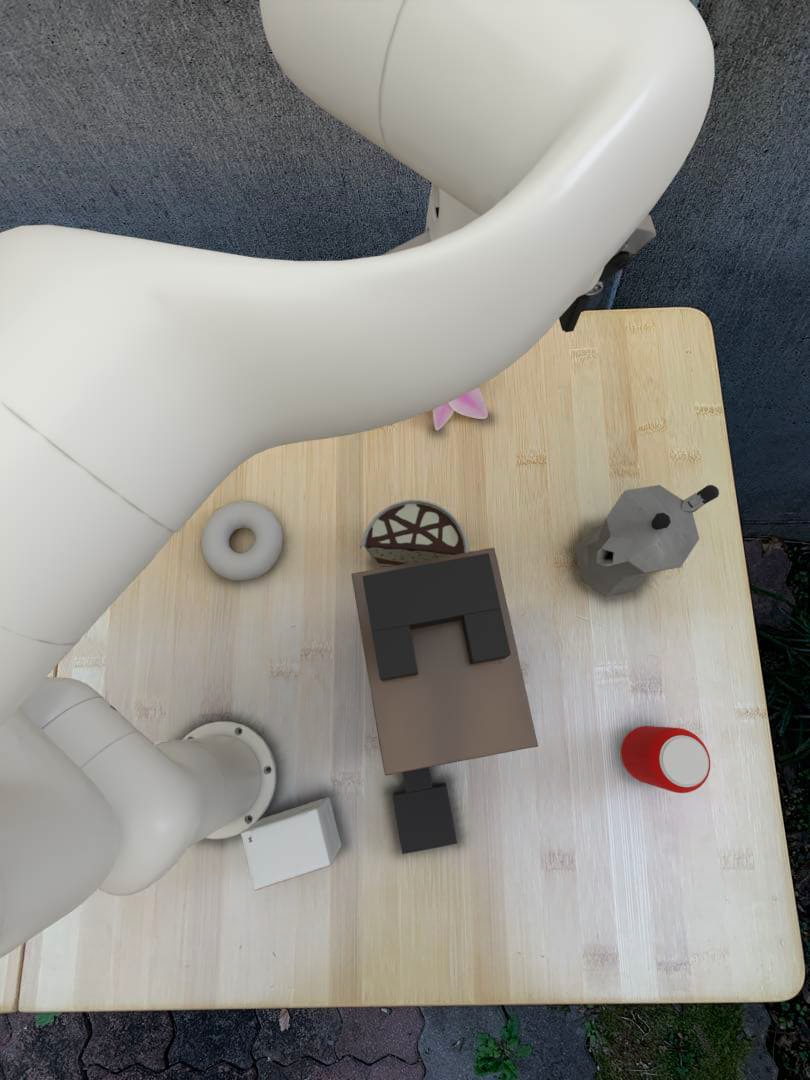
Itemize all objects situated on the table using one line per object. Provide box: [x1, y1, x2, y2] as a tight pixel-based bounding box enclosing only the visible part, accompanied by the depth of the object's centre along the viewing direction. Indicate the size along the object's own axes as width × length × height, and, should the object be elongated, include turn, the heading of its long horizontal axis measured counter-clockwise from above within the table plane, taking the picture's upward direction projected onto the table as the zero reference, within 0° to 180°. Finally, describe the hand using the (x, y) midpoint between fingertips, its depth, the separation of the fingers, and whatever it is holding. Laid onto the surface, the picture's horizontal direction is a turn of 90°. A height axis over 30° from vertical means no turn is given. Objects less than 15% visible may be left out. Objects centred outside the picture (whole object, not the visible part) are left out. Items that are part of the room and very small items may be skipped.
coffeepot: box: [574, 484, 720, 598], centre depth 75 cm, size 15×9×18 cm, turn 121°
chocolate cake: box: [359, 499, 471, 567], centre depth 79 cm, size 12×6×10 cm, turn 84°
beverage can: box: [620, 725, 711, 794], centre depth 72 cm, size 6×6×12 cm
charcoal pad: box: [392, 767, 458, 855], centre depth 75 cm, size 6×9×3 cm, turn 10°
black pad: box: [363, 553, 511, 681], centre depth 53 cm, size 10×8×3 cm
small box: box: [240, 796, 342, 892], centre depth 71 cm, size 8×6×10 cm
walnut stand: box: [351, 547, 539, 776], centre depth 67 cm, size 12×16×27 cm
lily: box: [432, 387, 489, 431], centre depth 85 cm, size 12×12×10 cm
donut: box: [200, 500, 284, 581], centre depth 83 cm, size 10×4×10 cm
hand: (496, 325), depth 48 cm, fingers open, 9 cm apart
